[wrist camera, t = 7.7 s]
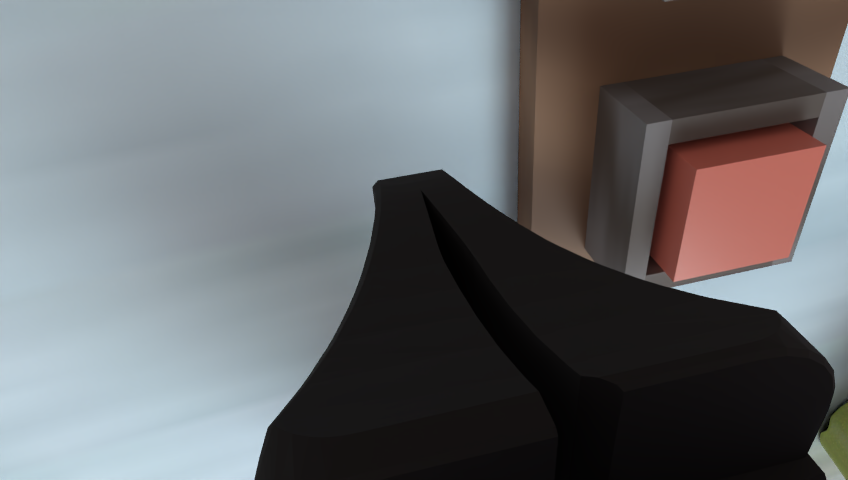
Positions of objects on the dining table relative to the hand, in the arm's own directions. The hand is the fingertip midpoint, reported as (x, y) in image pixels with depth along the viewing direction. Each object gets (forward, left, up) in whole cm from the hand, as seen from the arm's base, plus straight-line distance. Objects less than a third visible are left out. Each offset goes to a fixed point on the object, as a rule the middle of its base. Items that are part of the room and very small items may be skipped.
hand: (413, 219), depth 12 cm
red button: (-11, -4, -7) cm, 14 cm away
